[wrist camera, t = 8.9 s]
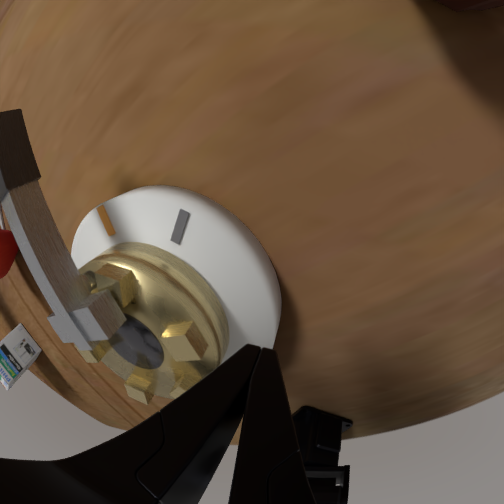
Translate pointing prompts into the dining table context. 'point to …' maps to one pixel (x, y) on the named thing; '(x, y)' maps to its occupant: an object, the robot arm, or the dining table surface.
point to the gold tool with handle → (113, 290)
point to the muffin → (471, 4)
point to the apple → (7, 251)
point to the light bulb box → (16, 355)
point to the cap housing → (194, 252)
